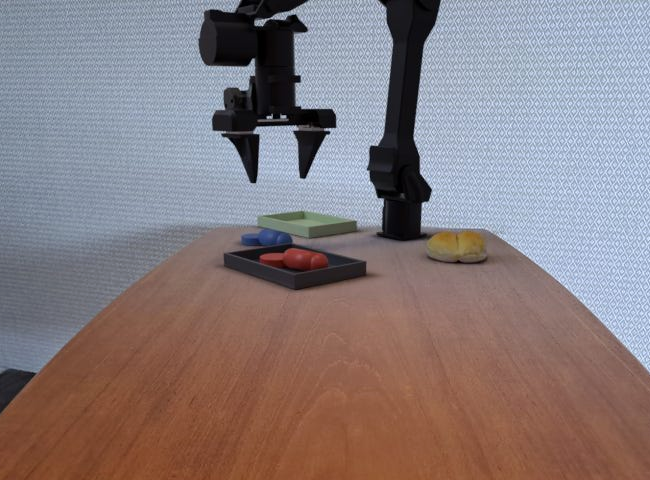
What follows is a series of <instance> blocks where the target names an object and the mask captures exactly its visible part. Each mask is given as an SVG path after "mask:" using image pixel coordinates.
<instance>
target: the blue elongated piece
mask: <svg viewBox="0 0 650 480" xmlns="http://www.w3.org/2000/svg"><path fill="white" fill-rule="evenodd" d="M240 238H241V239H240V240H241V244H242V245H245V246H263V247H266V246H273V245H280V244H286V243H294V239H293V237H292V236H291V234H290V233H286V232H281V231H277V230H273V229H269V228H263V229H261V230H260V231H259V232H252V233H245V234H242V235H241V236H240Z"/></svg>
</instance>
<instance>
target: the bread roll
mask: <svg viewBox="0 0 650 480" xmlns="http://www.w3.org/2000/svg"><path fill="white" fill-rule="evenodd" d="M487 247H488V243H487V241H486V240H485V238H484V237H483V235H481V234H479V233H478V232H475V231H472V230H465V231H463V232H460V233H458V234H457V233H454V232H451V231H441V232H438V233H435V234H434V235H433V236H432V237H431V238H430V239H429V240H428V241H427V244H426V254H427V256H428V257H430V258H431V259H434V260H437V261H439V262H443V263H456V262H458V261H459V262H461V263H463V264H464V263H466V264H468V263H469V264H470V263H479V262H481V261H484V260H485V259H486V258H487V254H488V251H487Z"/></svg>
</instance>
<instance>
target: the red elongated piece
mask: <svg viewBox="0 0 650 480" xmlns="http://www.w3.org/2000/svg"><path fill="white" fill-rule="evenodd" d="M260 263H262V264H265V265H269V266H272V267H275V268H285V267H288V268H291V269H295V270H300V271H304V272H306V271H312V270H317V269H323V268H328V265H329V263H328V259H327V257H326V256H325V255H323V254H321V253H316V252H311V251H306V250H301V249H296V248H290V249H288V250H286V251H285V253H270V254H264V255H261V256H260Z"/></svg>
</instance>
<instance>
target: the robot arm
mask: <svg viewBox="0 0 650 480" xmlns="http://www.w3.org/2000/svg"><path fill="white" fill-rule="evenodd" d="M309 1H310V0H240V1H239V3H238V5H236V8H235V9H234V12H232V11H223V10H221V9H215V8H210V9H207V10H204V11H203V21H202V24H201V26H200V30H199V31H200V32H199V38H198V39H197V43H198V51H199V55H200V58H201V61H202V62H203V64H204V65H205V66H207V67H234V68H235V67H236V68H239V67H240V68H246V67H249V66H250V65H251V63H252V60H253V61H254V75H249V79H248V89H246V90H240V88H239V87H238V86H235V87H233V86H232V87H231V86H230V87H229V86H228V87H226V88H225V89H224V90H223V107H224V109H215V111H214V113H213V115H212V118H211V127H212V131H213V132H220V136H221V138H226V139H227V140H229V141H230V142H231V144H232V145H233V146H234V148H235V150H236V151H237V153H238V156H239V158H240V160H241V163H242V166H243V168H244V170H245V174H246V176H247V178H248V180H249V184H254V185H255V184H257V181H258V175H259V159H260V141H261V140H260V139H261V138H260V137H261V134H260V133H254V132H255V130H256V129H257V128H260V127H261V128H262V127H293V126H294V127H295V126H296V128H297V129H298V130H297V129H295V130H292V133H293V134H294V137H295V139H296V141H297V157H298V158H297V159H298V161H297V162H298V174H299V179H301V180H306V179H307V177H308V175H309V172H310V170H311V167H312V165H313V163H314V160H315V158H316V156H317V154H318V152H319V149H320V148H321V146H322V144H323V142H324V140H325V138H326V136H328V135H331V131H330V130H325V129H337V128H338V127H337V123H338V122H337V115H336V113H335V111H334V109H333V108H302V106H301V105H297V95H296V93H297V92H296V84H301V83H302V75H301V74H296V58H295V57H296V56H295V55H296V54H295V53H296V51H295V35H299V34H305V33H308V32H309V28H308V26H307V25H306V24H305V23H304V22H303V21H301V20H300V18H299V16H298V15H297V14H296V13H294V14H290V15H289V14H288V15H287V16H286V17H285V19H280V18H279V19H276V18H274V16H275V15H278V14H284V13H288V12H291V11H293V10H295V9H296V8H298V7H301V6H302V5H305V4H306V3H308V2H309ZM377 2H379V3H380V4H381V5H382V6H383V7H384V8H385V12H386V13H385V15H386V18H385V19H386V20H385V21H386V26H387V28H388V30H389V31H388V32H389V33H390V35H391V39H392V51H391V58H390V59H391V60H390V71H389V78H388V80H389V81H388V89H387V99H386V108H385V109H386V111H385V120H384V128H383V136H382V137H381V140H380V141H379V143H378V144H377V145H370V146H369V149H368V157H369V158H368V164H367V166H366V171H367V172H368V173H369V174H368V175H369V182H370V183H372V185H373V187H374V191H375V195H376V198H377V199H380V200H381V199H383V207H382V209H381V210H382V211H381V212H382V214H381V231H376V234H375V235H376V236H380V237H385V238H390V239H394V240H399V241H404V240H410V239H416V238H423V237H427V236H428V233H427V232H424V231H422V213H423V212H422V210H423V203H428V202H430V199H431V196H432V193H433V189H432V187H431V185H430V184H429V183H428V181H427V180H426V179H425V178H424V177H423V175H422V174H421V155H420V153H419V150H418V147H417V144H416V141H415V127H416V117H417V109H418V102H419V101H418V100H419V93H420V84H421V83H420V82H421V76H422V67H423V58H424V49H425V43H426V42H427V40H428V38H429V36H430V34H431V33H432V31H433V30H434V28H435V26H436V23H437V20H438V15H439V12H440V7H441V2H442V0H377ZM262 20H266V21H265V22H264V24H263V25H256V23H255V22H258V21H262ZM282 116H285V117H284V118H283V117H282ZM268 117H271V118H268Z"/></svg>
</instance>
